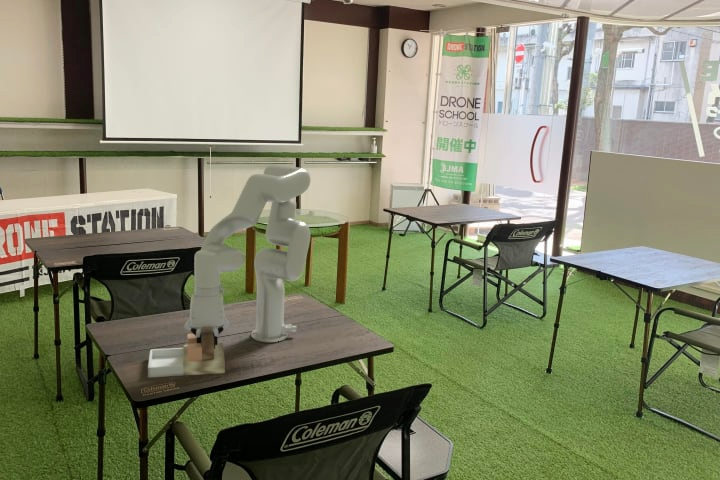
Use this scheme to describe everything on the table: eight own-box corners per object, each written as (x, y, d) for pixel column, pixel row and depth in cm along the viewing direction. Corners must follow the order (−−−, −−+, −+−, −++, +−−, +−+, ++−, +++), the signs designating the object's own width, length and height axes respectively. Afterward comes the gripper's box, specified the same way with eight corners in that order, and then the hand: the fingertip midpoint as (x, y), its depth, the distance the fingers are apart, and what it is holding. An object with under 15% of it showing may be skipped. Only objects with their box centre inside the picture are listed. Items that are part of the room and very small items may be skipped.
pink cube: (200, 345, 199) (200, 333, 198) (201, 350, 195) (201, 337, 194) (187, 345, 198) (187, 333, 197) (187, 350, 194) (187, 338, 193)
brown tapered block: (211, 343, 200) (212, 326, 198) (213, 359, 189) (214, 340, 187) (200, 344, 199) (200, 326, 198) (201, 359, 188) (201, 340, 186)
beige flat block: (222, 354, 203) (222, 342, 202) (224, 372, 190) (224, 360, 189) (183, 356, 199) (183, 344, 199) (183, 375, 186) (183, 362, 185)
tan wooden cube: (201, 355, 191) (201, 343, 191) (201, 360, 188) (201, 348, 187) (187, 356, 190) (187, 343, 189) (188, 361, 187) (187, 348, 186)
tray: (183, 356, 199) (183, 347, 199) (183, 375, 186) (183, 366, 186) (150, 358, 197) (150, 349, 196) (148, 377, 184) (147, 368, 183)
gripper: (234, 286, 195) (233, 341, 199) (178, 287, 191) (179, 344, 195) (236, 293, 188) (235, 350, 192) (178, 295, 184) (179, 353, 188)
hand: (207, 347), depth 193 cm, fingers closed on brown tapered block, 3 cm apart
